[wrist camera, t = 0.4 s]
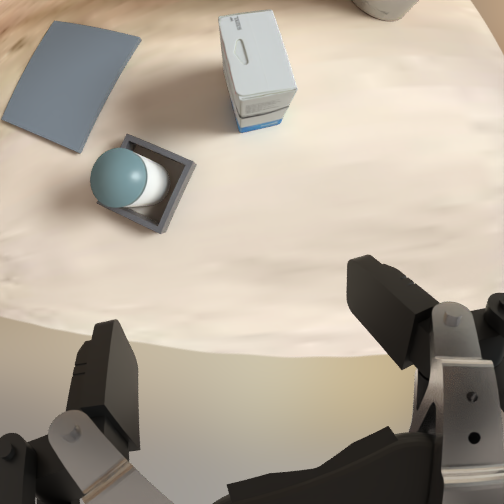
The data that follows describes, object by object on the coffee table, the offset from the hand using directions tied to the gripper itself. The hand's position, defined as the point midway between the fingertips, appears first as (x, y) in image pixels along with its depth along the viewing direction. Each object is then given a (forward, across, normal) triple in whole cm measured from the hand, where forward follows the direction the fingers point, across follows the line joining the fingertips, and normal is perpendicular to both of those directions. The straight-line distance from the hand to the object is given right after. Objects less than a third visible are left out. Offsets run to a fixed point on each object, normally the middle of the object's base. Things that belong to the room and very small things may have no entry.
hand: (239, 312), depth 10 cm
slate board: (+34, +14, -15) cm, 40 cm away
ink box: (+28, -9, -7) cm, 30 cm away
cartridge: (+27, +4, +1) cm, 28 cm away
